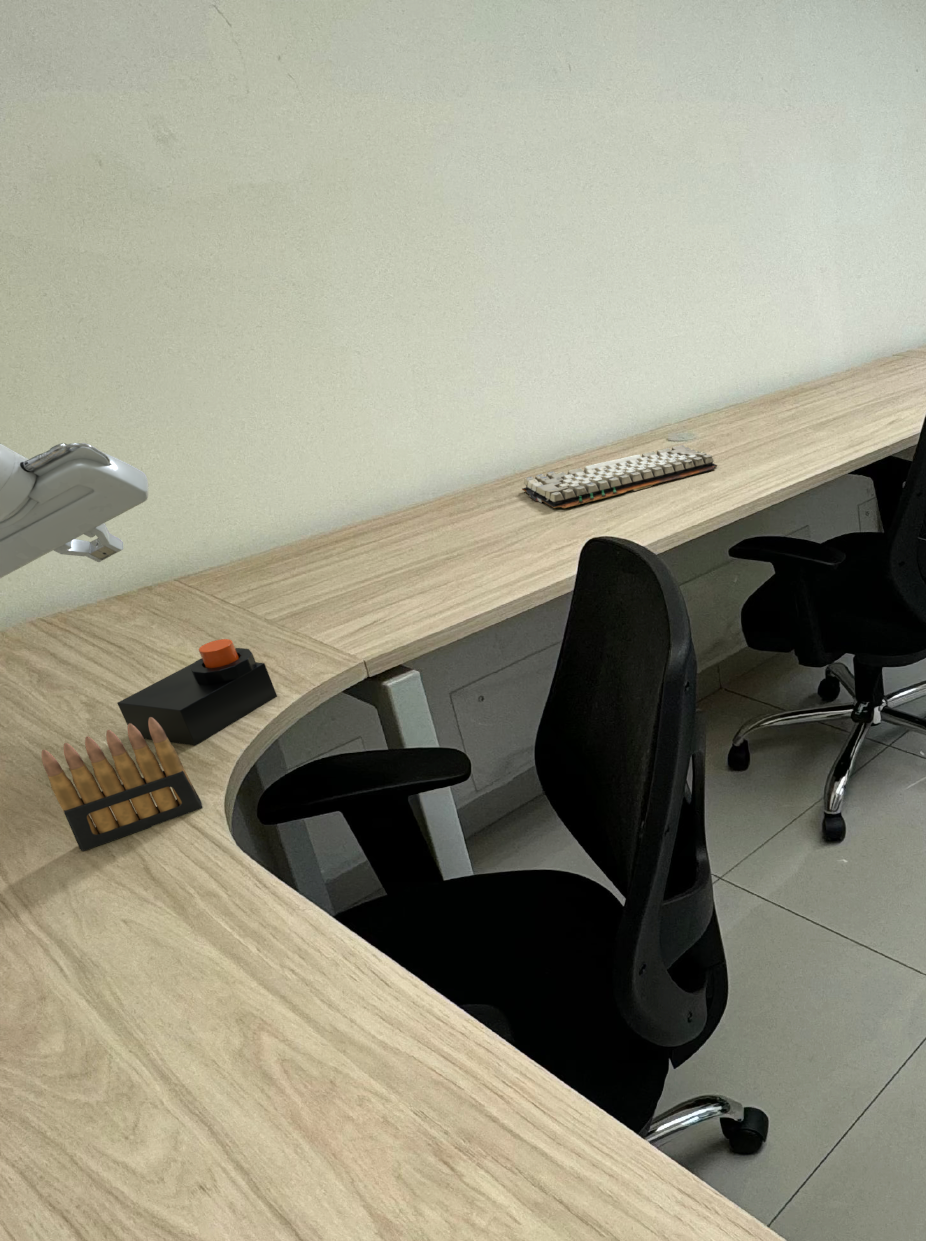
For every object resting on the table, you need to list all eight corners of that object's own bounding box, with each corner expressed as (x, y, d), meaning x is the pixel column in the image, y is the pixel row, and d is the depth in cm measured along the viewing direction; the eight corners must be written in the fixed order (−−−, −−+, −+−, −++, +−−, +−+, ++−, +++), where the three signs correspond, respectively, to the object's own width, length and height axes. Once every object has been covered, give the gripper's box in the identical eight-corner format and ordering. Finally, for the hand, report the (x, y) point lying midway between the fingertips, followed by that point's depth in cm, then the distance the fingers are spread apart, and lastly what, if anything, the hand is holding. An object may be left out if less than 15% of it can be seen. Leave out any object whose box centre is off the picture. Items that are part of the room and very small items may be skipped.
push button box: (133, 738, 124) (110, 690, 121) (220, 689, 135) (201, 644, 132) (197, 746, 122) (176, 697, 119) (280, 695, 133) (263, 650, 130)
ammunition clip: (81, 851, 104) (31, 757, 99) (80, 843, 105) (31, 749, 100) (202, 808, 110) (161, 717, 105) (201, 801, 111) (160, 710, 106)
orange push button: (198, 668, 126) (191, 650, 125) (223, 654, 130) (216, 637, 129) (221, 670, 126) (213, 653, 125) (245, 657, 129) (238, 640, 128)
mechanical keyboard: (679, 452, 230) (677, 438, 229) (721, 469, 218) (719, 454, 216) (518, 493, 208) (514, 478, 206) (555, 515, 195) (551, 499, 193)
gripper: (74, 416, 102) (193, 489, 114) (-105, 510, 102) (32, 574, 114) (73, 456, 99) (195, 527, 111) (-112, 555, 98) (30, 615, 110)
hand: (112, 551), depth 112 cm, fingers closed
